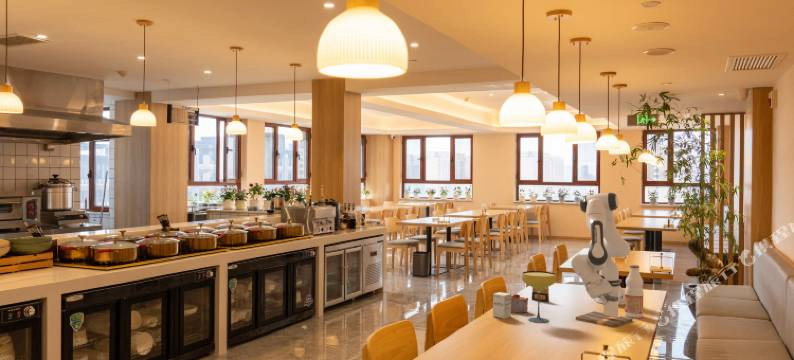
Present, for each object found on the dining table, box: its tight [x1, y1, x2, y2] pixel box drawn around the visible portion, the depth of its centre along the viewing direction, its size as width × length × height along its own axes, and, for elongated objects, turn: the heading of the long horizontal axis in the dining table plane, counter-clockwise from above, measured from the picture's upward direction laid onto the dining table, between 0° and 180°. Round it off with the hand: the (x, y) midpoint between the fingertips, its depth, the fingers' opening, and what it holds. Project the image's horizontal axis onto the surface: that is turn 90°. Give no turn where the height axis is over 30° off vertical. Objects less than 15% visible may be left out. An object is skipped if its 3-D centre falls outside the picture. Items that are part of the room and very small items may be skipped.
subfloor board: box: [575, 310, 633, 328], centre depth 331 cm, size 20×22×2 cm
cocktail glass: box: [521, 270, 558, 324], centre depth 329 cm, size 18×18×25 cm
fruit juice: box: [624, 264, 644, 319], centre depth 342 cm, size 9×9×28 cm
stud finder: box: [603, 295, 619, 317], centre depth 328 cm, size 4×6×10 cm, turn 44°
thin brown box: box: [531, 287, 550, 303], centre depth 380 cm, size 11×2×12 cm, turn 53°
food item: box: [511, 293, 529, 314], centre depth 350 cm, size 14×8×10 cm, turn 66°
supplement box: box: [492, 291, 512, 320], centre depth 337 cm, size 7×7×13 cm
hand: (609, 302), depth 329 cm, fingers closed on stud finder, 4 cm apart
